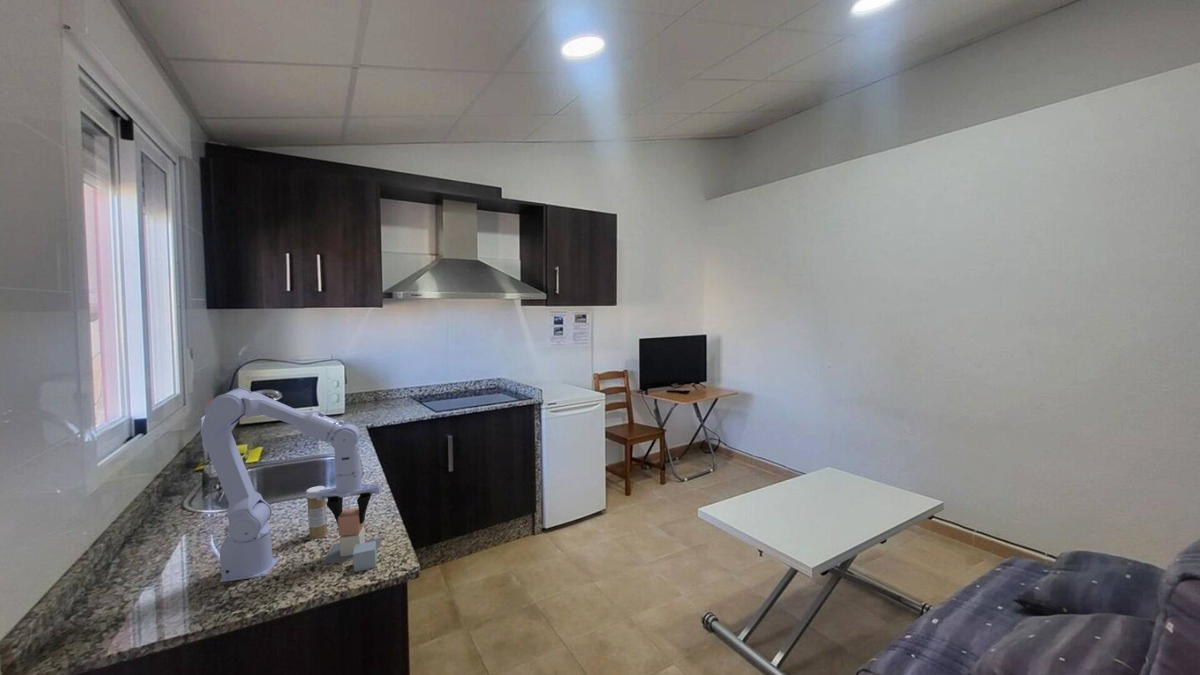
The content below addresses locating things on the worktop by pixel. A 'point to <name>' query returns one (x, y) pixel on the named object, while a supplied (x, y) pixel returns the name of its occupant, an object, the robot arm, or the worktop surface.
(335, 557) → the mat
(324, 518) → the sprinkles bottle
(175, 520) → the worktop surface
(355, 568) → the slate brick
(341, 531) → the terracotta brick
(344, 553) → the cream brick
